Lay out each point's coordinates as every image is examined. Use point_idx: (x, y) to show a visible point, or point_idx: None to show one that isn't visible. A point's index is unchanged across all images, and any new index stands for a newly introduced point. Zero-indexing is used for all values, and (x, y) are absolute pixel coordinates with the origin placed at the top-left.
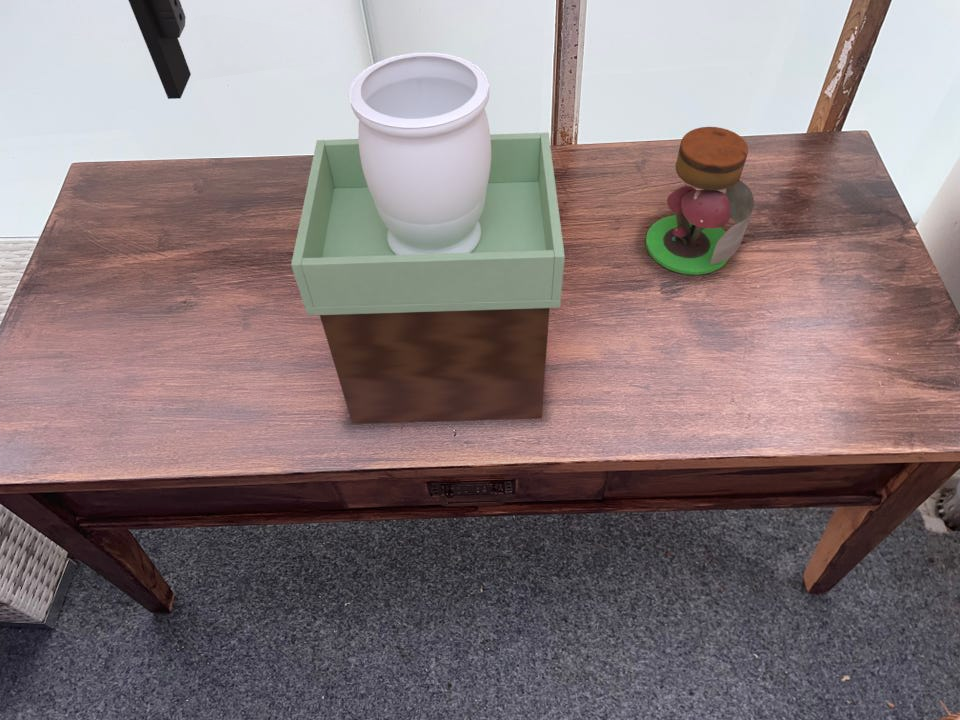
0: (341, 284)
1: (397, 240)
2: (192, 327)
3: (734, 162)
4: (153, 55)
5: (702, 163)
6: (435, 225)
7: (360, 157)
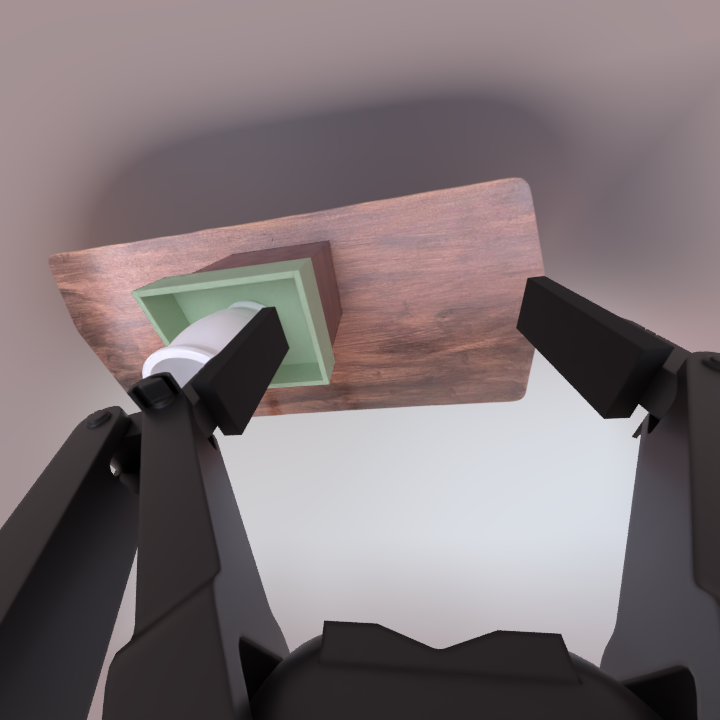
0: (275, 268)
1: None
2: (435, 300)
3: None
4: (252, 330)
5: None
6: (217, 312)
7: None
